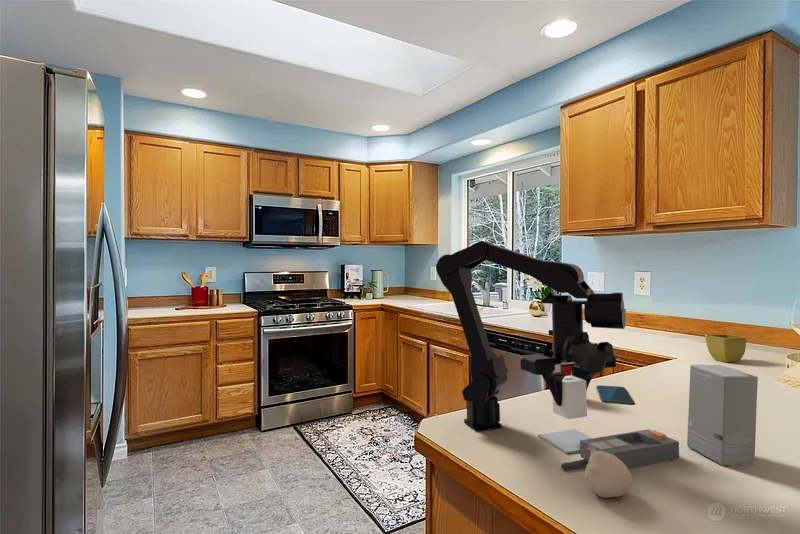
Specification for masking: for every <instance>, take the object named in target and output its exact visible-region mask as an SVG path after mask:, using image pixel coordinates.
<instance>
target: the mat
mask: <svg viewBox="0 0 800 534" xmlns="http://www.w3.org/2000/svg"><path fill="white" fill-rule="evenodd" d="M537 437H538V438H540V439H541V440H543V441H545V442H546V443H547V444H549V445H551V446H552V447H554V446H555V448H556V449H558V450H559V449H560V450H559V451H561V452H562V453H564V452H565V453H564V454H566V453H567V454H566V455H569V454H568V453H571V454H575V453H574V452H577V453H580V452H579V451H580V440H586V439H592V438H593V437H591V436H589V435H587V434H585V433H584V432H582V431H579V430H578V429H576V428H573V429H566V430H560V431H553V432H548V433H540V434H537Z"/></svg>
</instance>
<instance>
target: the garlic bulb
mask: <svg viewBox="0 0 800 534" xmlns="http://www.w3.org/2000/svg"><path fill="white" fill-rule="evenodd" d="M586 449H588V450H590V451H591V456H590V458H589V461H588V464H587V465H586V466H585V471H584V473H585V474H584V477H585V480H586V482H587V484H588V485H589V487H590V490H591V491H592V492H593V493H594V494H595V495H597V496H599V497H601V498H605V499H606V498H619V497H621V496H623V495H624V494H625V493H626V492H627V491H629V489H630V488H631V485H632V483H633V481H632V480H633V479H632V474H631V471H630V470H629V469H630V468H627V467H626V465H625V464H624V463H623V462H622V461H621V460H620V459H618V458H617V457H616V456H614V455H612V454H610V453H605V452H603V451H596V450H595V448H594V447H593V446H591V445H590V446H589V447H587V448H586Z"/></svg>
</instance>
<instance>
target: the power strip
mask: <svg viewBox="0 0 800 534" xmlns="http://www.w3.org/2000/svg"><path fill="white" fill-rule="evenodd" d="M591 438H592V439H586V440H580V452H579V454H580V456H581V457H582V458H581V457H580V458H581V459H578V460H573V461H568V462H562V463H560V464H561V465H560V467H561V469H562V470H569V469H574V468H579V467H586V466H587V464H588V461H589V458H590V456H591V451H590V450H588V449H586V448H587V447H589V446H590V445H591V446H593V447H594V448H595V450H596V451H603V452H605V453H610V454H612V455H614V456H616V457H617V458H618V459H620V460H621V461H622V462H623V463H624V464H625V465H626V467H627V468H628V469H632V468H637V467H641V466H647V465H651V464H657V463H663V462H667V461H671V460H677V459H678V460H679V459H680V442H679V441H678V440H677V439H676V440H675V439H673V438H671V437H669V436H667V434H665V433H662V432H660V431H657V430H655V429H654V430H652V429H650V428H649V429H641V430H634V431H628V432H624V433H618V434H611V435H606V436H599V437H594V438H593V437H591ZM583 458H584V459H583Z"/></svg>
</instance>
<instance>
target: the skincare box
mask: <svg viewBox="0 0 800 534" xmlns="http://www.w3.org/2000/svg"><path fill="white" fill-rule="evenodd" d="M689 369H690V370H689V390H688V391H689V394H688V395H689V396H688V416H687V417H688V418H687V435H686V436H687V437H686V445H687V447H688V448H689V449H691V450H693V451H695V452H697V453H698V454H701V455H702V456H704V457H706V458H708V459H710V460H711V461H714V462H715V463H718V464H719V465H721V466H736V465H737V466H741V465H742V466H743V465H746V466H747V465H754V464H755V463H756V462H755V459H756V458H755V457H756V456H755V455H756V433H757V432H756V431H757V429H756V428H757V427H756V426H757V408H758V407H757V405H758V404H757V403H758V387H759V386H758V384H759V377H758V376H757V375H754V374H751V373H747V372H744V371H742V370H740V369H736V368H731V367H729V366H728V367H727V366H725V365H721V364H691V365H690V366H689Z"/></svg>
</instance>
